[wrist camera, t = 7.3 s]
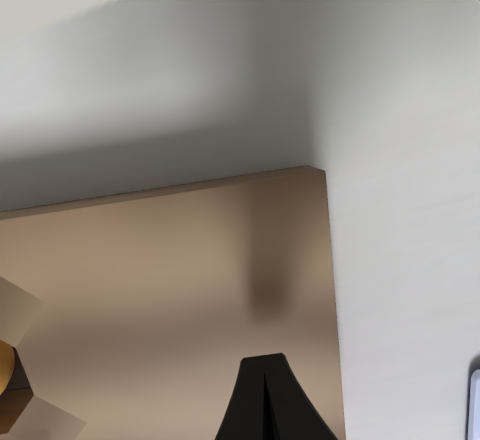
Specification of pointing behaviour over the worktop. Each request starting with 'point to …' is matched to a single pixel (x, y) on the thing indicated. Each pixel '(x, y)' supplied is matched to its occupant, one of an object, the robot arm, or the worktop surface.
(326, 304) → the hole board
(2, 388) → the ball
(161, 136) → the worktop surface
